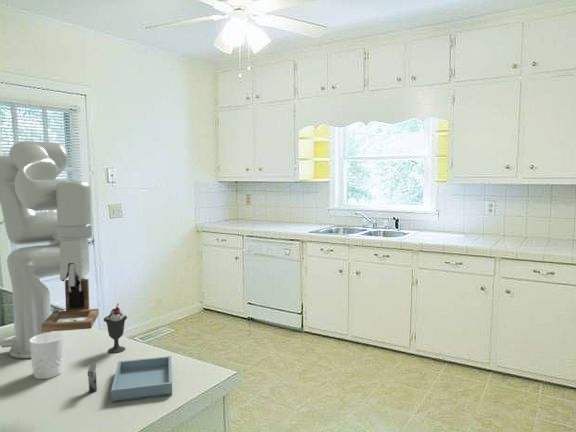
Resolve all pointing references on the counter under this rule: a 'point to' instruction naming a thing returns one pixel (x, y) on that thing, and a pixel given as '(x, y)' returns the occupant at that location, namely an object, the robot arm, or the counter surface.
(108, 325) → the sundae
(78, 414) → the counter surface
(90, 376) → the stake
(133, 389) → the tray
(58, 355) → the white cup
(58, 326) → the ring
